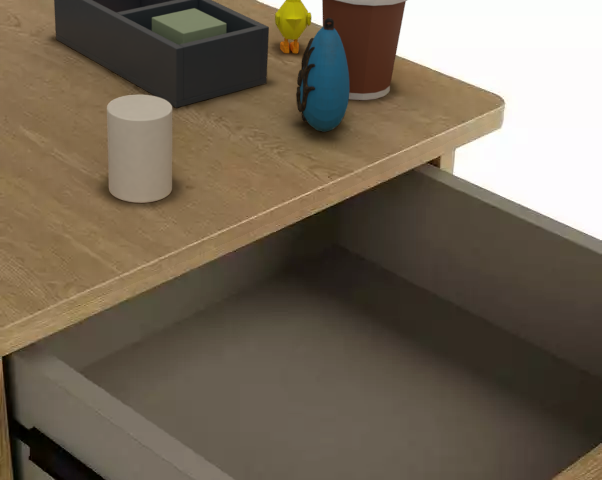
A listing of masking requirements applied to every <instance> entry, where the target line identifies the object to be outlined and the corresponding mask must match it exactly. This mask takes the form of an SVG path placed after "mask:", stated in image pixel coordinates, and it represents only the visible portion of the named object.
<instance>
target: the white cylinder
mask: <svg viewBox="0 0 602 480" xmlns="http://www.w3.org/2000/svg"><path fill="white" fill-rule="evenodd" d="M106 126H107V127H106V130H107V131H106V134H107V137H106V139H107V171H108V172H107V176H108V191H109V193H110V194H111V195H112V196H113V197H115V198H116V199H119V200H122V201H124V202H129V203H134V204H135V203H137V204H141V203H142V204H143V203H145V204H146V203H152V202H153V203H154V202H156V201H160V200H162V199H165V198H166V197H168V196H169V195H170V194H171V192H172V190H173V106H172V105H171V104H170V103H169V102H168V101H166V100H165V99H162V98H160V97H156V96H155V95H152V94H128V95H122V96H119V97H116V98H114V99H111V101H109V102H108V104H107V105H106Z"/></svg>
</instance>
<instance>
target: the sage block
mask: <svg viewBox="0 0 602 480" xmlns="http://www.w3.org/2000/svg"><path fill="white" fill-rule="evenodd" d="M226 25H227V24H226V23H224V22H222V21H220V20H218V19H216V18H214V17H212V16H210V15H208V14H206V13H204V12H201V11H199V10H197V9H195V8H193V9H188V10H184V11H179V12H175V13H170V14H166V15H161V16H157V17H152V31H153V32H155V33H156V34H158V35H160V36H162V37H164V38H166V39H168V40H170V41H172V42H174V43H176V44H178V45H179V44H184V43H188V42H192V41H196V40H201V39H205V38H209V37H213V36H217V35H222V34H226Z"/></svg>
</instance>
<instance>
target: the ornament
mask: <svg viewBox="0 0 602 480" xmlns="http://www.w3.org/2000/svg"><path fill="white" fill-rule="evenodd" d="M328 22H331V24H327V23H328ZM300 64H301V65H300V67H301V68H300V69H299V71H298V73H297V78H296V79H297V80H296V81H297V82H296V84H297V87H296V93H295V98H296V99H295V100H296V105H297V110H298V112H299V113H301V120H302V122H307V123H308V124H309V126H311V127H312V128H314V130H316V131H319V132H323V133H326V132H330V131H332V130H334V129H335V128H337V127H338V126H339V125H340V124H341V122H342V121H343V119H344V117H345V115H346V112H347V109H348V105H349V100H350V99H349V72H348V65H347V59H346V55H345V51H344V47H343V44H342V41H341V38H340V36H339V34H338V32H337V31H336V30H335V29H334V20H333V19H332V18H327V19H326V20H325V22H324V27H323V26H322V27H320V28H319V30H318V31H317V32H316V33H315V35H314V37H311V38H310V39H309V40H308V43H307V45H306V48H305V50H304V52H303V55H302V57H301V63H300Z"/></svg>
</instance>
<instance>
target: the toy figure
mask: <svg viewBox="0 0 602 480" xmlns="http://www.w3.org/2000/svg"><path fill="white" fill-rule="evenodd" d="M274 23H275V27H276V28H277V29H278V31H279V32H280V34H281V36H282V37H283V40H282V41H280V42H279V49H280V51H281V52H283V54H290V51H291V53H292V54H299V50H300V42H299V38H300V37H301V36H302V35H303V33H304V32H305V30H306V29H307V27H310V26H311V25H312V13H311V12H309V11H308V9H307V7H306V5H305V4H304V3H303V1H302V0H284V2H283V3H282V4H281V5H280V7H279V8H278V9H277V11H276V12H275V13H274ZM290 40H291V41H290ZM289 41H290V42H289Z"/></svg>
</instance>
